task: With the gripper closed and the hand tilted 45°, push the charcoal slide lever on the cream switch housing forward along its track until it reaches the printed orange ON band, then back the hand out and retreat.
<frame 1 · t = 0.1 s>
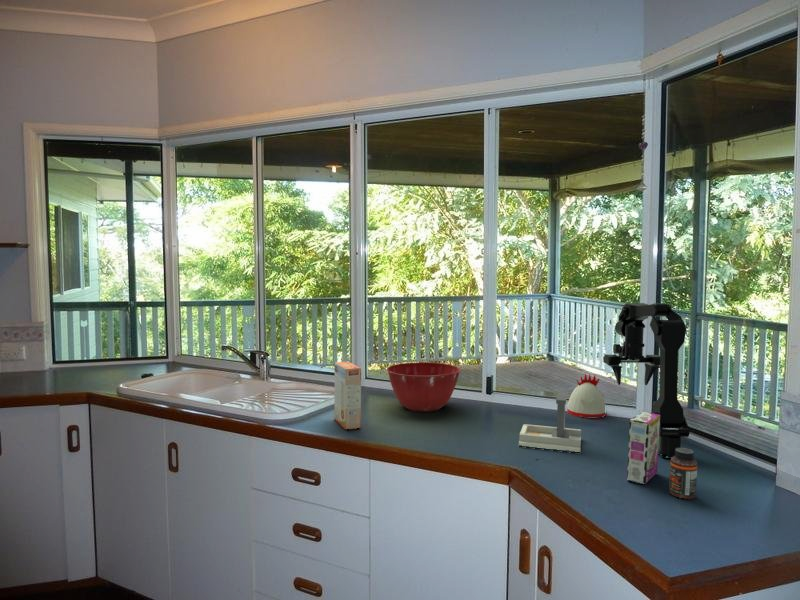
hand: (632, 384, 193), 15 cm above the worktop, tool pointing down, fingers open, 9 cm apart
mixing bowl: (423, 407, 218), on the worktop
slide lever: (561, 417, 175), point 8 cm above the worktop, slide at 0.0 cm
supplement bottle: (682, 495, 138), on the worktop
candy bar box: (642, 478, 149), on the worktop
kitchen timer: (586, 414, 210), on the worktop
switch housing: (560, 443, 175), on the worktop
cracker box: (347, 424, 195), on the worktop
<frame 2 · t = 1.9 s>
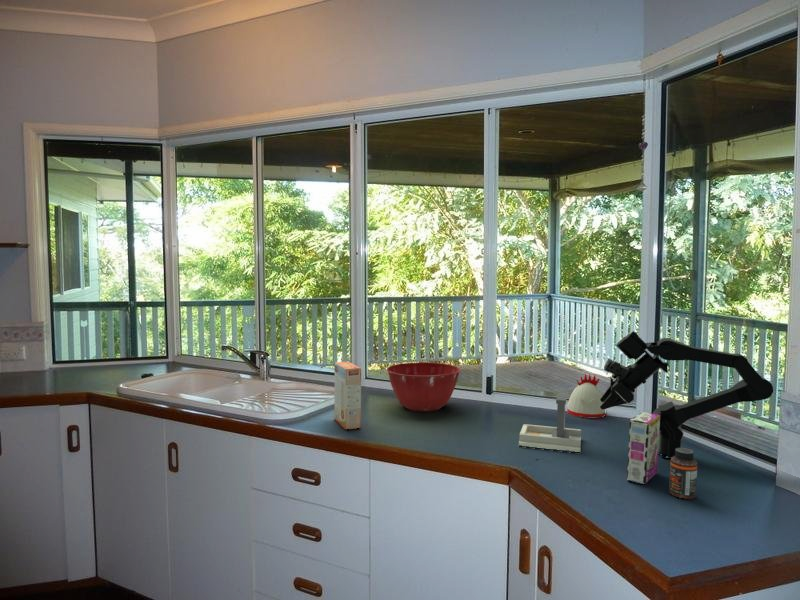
hand: (601, 404, 171), 13 cm above the worktop, tool tilted 45°, fingers open, 9 cm apart
nothing on the worktop moved.
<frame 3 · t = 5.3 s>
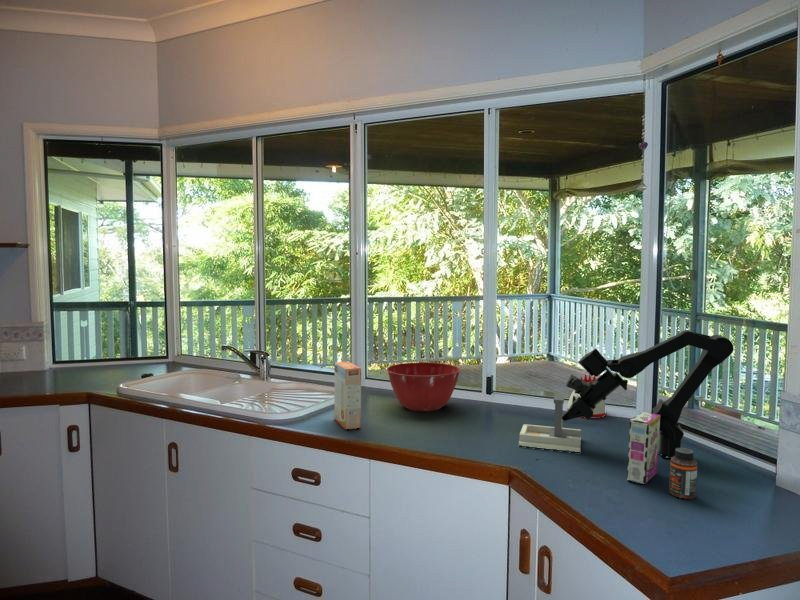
hand: (562, 419, 175), 8 cm above the worktop, tool tilted 45°, fingers closed, pressing on slide lever
slide lever: (558, 417, 175), point 8 cm above the worktop, slide at 0.7 cm, touching gripper
everything else where it was.
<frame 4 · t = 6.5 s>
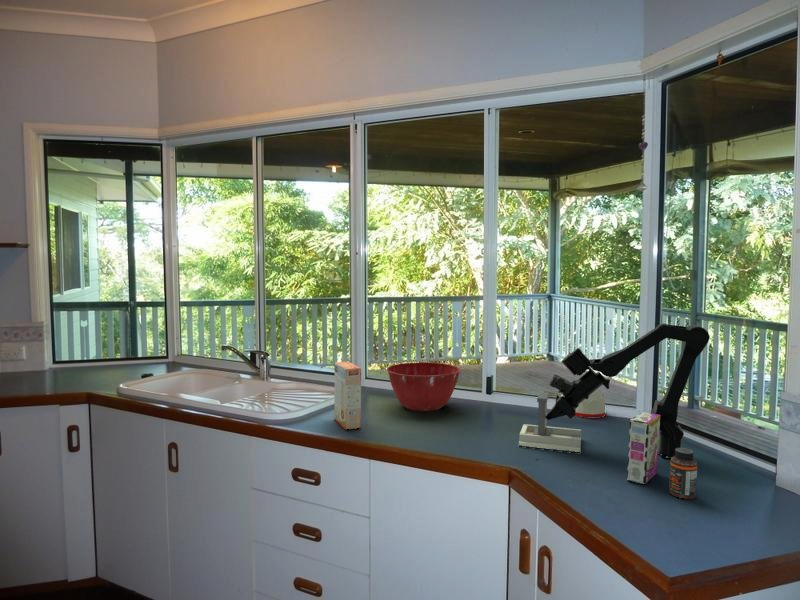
hand: (546, 418, 176), 8 cm above the worktop, tool tilted 45°, fingers closed, pressing on slide lever
slide lever: (542, 415, 176), point 8 cm above the worktop, slide at 5.6 cm, touching gripper
everything else where it was.
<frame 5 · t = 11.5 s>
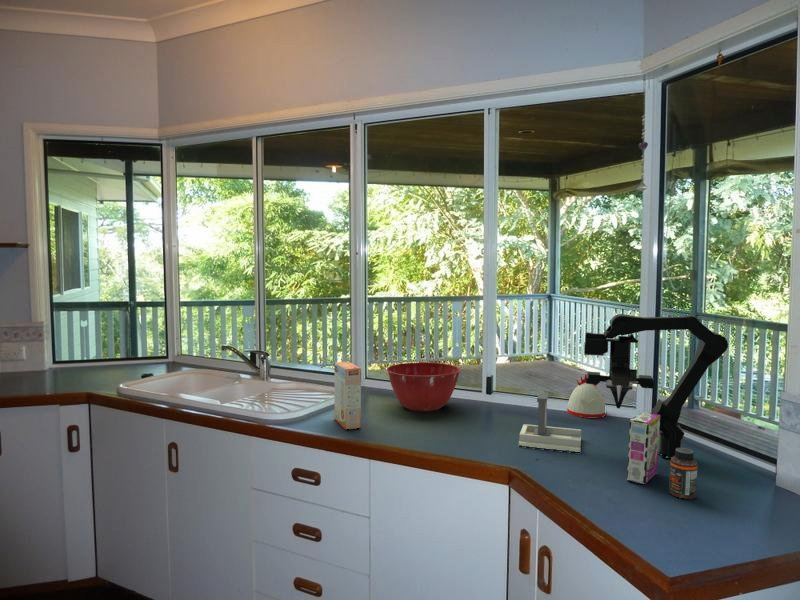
hand: (618, 408, 169), 13 cm above the worktop, tool pointing down, fingers closed
slide lever: (542, 415, 176), point 8 cm above the worktop, slide at 5.6 cm
everything else where it was.
at the end: slide lever slide at 5.6 cm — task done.
